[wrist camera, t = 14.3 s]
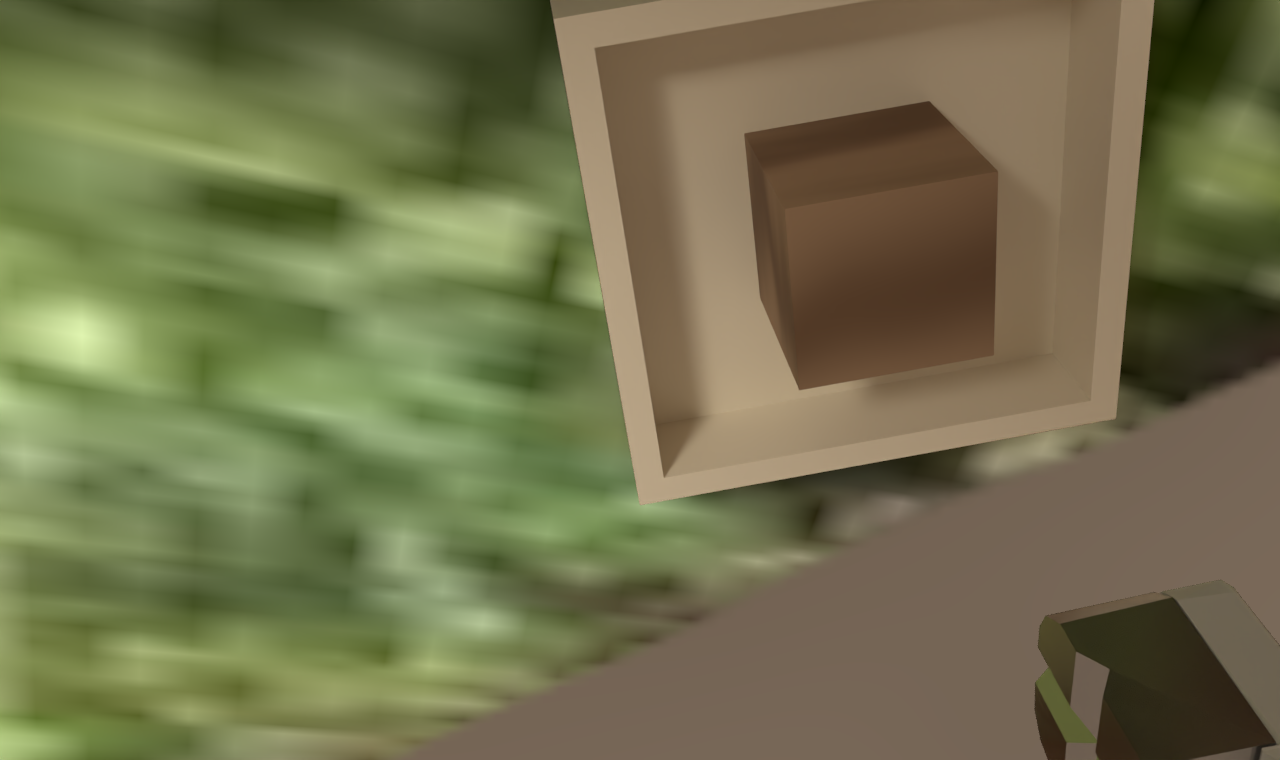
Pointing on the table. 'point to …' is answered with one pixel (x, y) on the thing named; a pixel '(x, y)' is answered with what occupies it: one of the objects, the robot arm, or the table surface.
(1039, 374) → the cream bin
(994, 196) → the walnut block
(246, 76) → the table surface
